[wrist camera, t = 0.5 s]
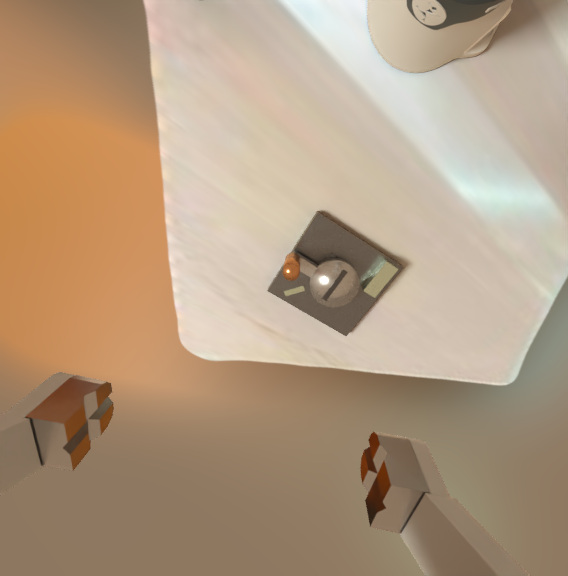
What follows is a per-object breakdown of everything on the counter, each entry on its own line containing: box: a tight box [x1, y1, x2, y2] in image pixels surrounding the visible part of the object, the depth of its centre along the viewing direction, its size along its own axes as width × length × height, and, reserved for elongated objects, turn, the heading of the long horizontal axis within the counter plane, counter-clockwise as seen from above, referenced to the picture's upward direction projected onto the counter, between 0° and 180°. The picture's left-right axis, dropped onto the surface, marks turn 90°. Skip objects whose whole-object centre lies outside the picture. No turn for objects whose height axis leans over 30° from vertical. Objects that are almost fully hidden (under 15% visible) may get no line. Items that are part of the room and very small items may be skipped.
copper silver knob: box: [283, 251, 359, 307], centre depth 44 cm, size 8×13×8 cm, turn 59°
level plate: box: [268, 211, 403, 336], centre depth 48 cm, size 16×17×3 cm
